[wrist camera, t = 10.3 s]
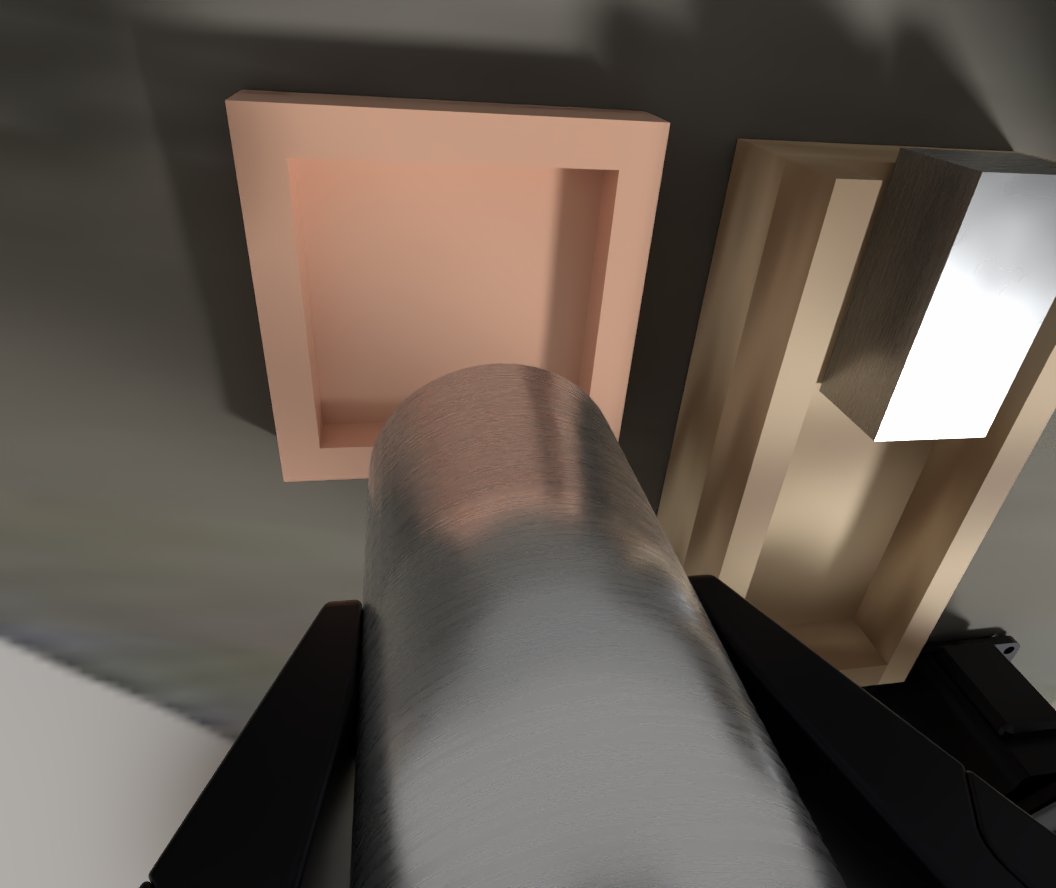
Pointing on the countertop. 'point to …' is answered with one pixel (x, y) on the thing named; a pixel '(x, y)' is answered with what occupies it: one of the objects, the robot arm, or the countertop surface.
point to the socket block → (825, 427)
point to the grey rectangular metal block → (946, 294)
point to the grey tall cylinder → (548, 668)
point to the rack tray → (436, 252)
